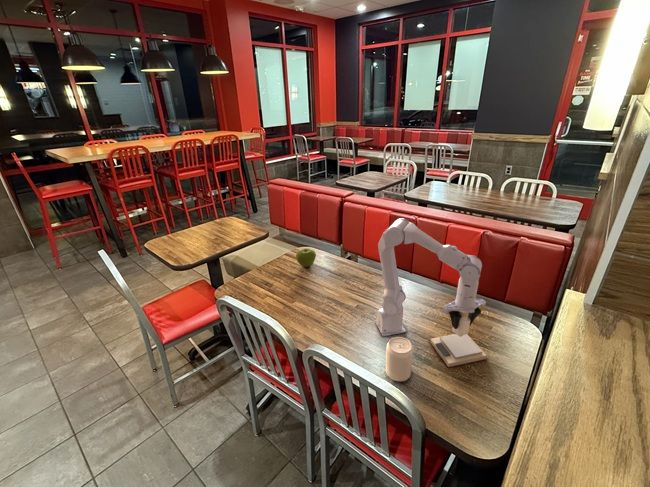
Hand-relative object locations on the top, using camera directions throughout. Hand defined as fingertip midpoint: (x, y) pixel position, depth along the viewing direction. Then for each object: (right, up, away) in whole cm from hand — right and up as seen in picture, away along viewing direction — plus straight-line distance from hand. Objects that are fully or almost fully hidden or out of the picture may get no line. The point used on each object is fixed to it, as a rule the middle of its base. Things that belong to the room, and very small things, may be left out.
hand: (460, 325), depth 106 cm
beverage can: (-23, -14, -4) cm, 27 cm away
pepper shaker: (0, -3, +1) cm, 3 cm away
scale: (0, -9, +3) cm, 10 cm away
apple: (-57, +16, +64) cm, 87 cm away
